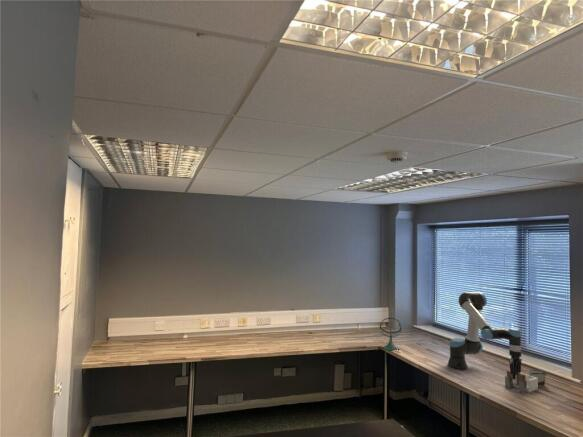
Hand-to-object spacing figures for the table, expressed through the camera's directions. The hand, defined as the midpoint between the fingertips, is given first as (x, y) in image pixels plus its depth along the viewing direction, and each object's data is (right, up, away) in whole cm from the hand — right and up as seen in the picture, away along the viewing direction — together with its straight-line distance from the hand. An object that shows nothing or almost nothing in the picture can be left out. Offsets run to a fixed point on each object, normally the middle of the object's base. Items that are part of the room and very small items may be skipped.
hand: (515, 383), depth 270 cm
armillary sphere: (-66, -9, +97) cm, 117 cm away
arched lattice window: (+21, -5, +10) cm, 24 cm away
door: (0, 0, 0) cm, 1 cm away
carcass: (+5, -4, +3) cm, 7 cm away
